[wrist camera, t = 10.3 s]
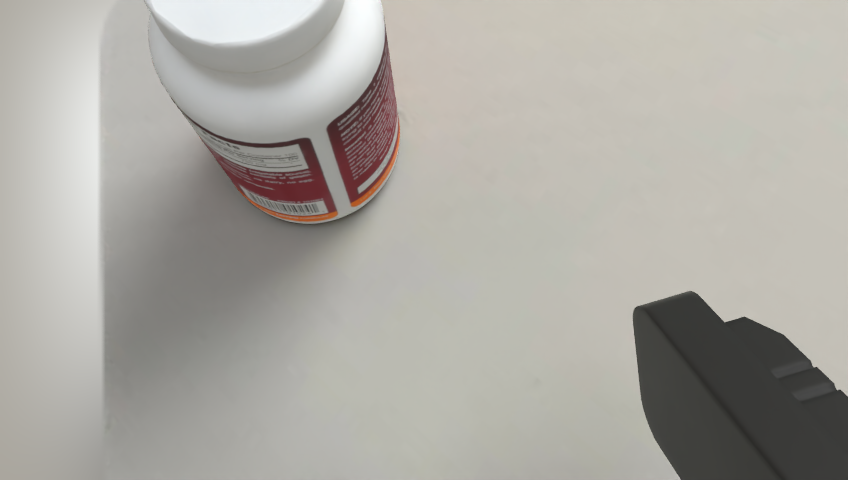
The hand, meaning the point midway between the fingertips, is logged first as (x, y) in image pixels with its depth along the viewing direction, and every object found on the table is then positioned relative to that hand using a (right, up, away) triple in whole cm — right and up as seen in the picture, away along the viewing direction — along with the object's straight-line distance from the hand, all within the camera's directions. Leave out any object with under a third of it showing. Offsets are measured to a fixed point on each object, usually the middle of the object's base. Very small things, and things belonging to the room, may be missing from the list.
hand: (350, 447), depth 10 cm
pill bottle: (-3, +6, +18) cm, 20 cm away
